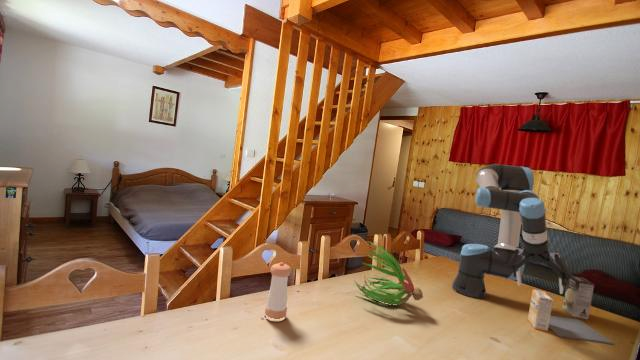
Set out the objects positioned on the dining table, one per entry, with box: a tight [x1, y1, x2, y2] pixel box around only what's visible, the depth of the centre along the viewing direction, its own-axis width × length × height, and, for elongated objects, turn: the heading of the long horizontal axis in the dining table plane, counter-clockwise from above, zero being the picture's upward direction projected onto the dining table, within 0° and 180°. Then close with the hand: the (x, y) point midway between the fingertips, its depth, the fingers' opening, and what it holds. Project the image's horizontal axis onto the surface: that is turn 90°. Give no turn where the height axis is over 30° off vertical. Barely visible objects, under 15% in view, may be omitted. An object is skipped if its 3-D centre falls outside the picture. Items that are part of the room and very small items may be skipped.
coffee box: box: [562, 275, 595, 320], centre depth 147 cm, size 9×6×16 cm
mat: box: [548, 314, 614, 345], centre depth 131 cm, size 20×18×1 cm
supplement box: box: [527, 289, 554, 332], centre depth 129 cm, size 8×5×13 cm, turn 164°
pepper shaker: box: [264, 261, 292, 319], centre depth 111 cm, size 7×7×19 cm
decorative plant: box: [354, 240, 424, 306], centre depth 133 cm, size 26×25×30 cm
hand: (539, 287), depth 125 cm, fingers open, 13 cm apart
